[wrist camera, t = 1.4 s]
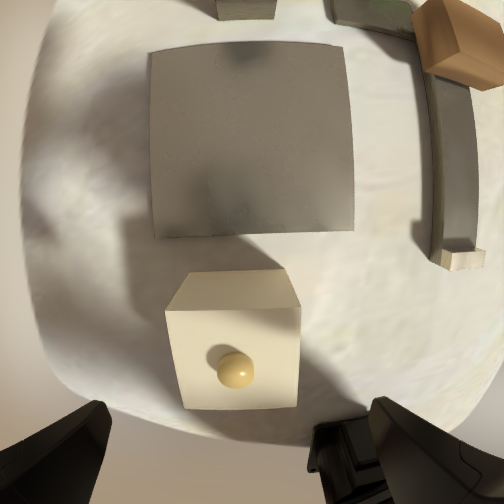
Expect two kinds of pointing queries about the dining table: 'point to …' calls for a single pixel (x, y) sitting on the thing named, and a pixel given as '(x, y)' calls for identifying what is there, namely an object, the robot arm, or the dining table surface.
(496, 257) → the dining table surface
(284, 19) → the dining table surface
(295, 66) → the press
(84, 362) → the dining table surface
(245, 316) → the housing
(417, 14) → the brown block
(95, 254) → the dining table surface
